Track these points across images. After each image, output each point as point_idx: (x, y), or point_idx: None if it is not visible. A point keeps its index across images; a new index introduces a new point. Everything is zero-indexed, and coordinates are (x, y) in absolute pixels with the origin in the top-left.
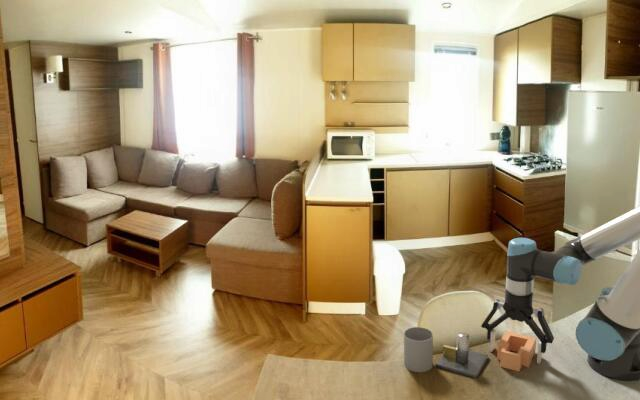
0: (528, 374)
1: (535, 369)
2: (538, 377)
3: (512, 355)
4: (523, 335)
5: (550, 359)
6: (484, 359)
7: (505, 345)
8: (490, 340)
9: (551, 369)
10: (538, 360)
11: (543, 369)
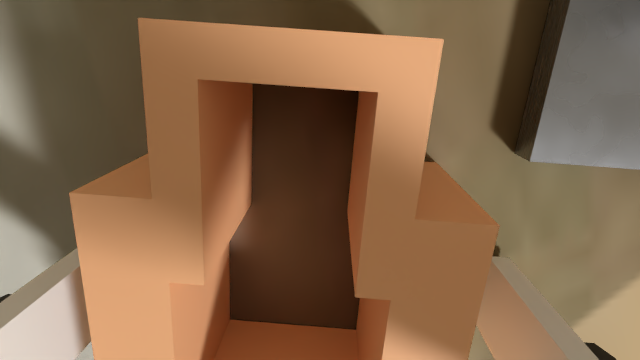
0: None
1: (113, 132)
2: (51, 9)
3: (262, 30)
4: None
5: None
6: (566, 57)
7: (393, 232)
8: (569, 327)
9: (11, 183)
10: None
11: (61, 158)
